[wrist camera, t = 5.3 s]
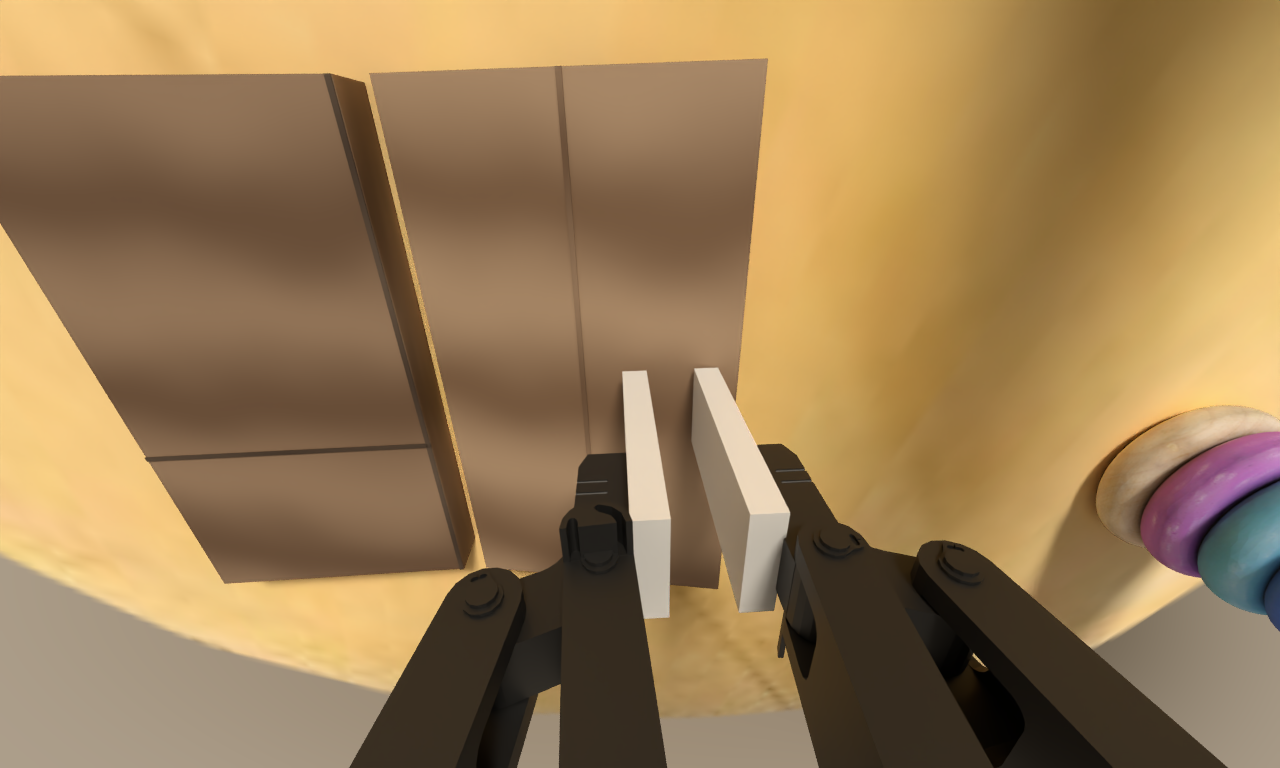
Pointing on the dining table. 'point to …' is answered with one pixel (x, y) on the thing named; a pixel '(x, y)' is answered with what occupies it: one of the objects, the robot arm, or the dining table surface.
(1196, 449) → the stacking toy
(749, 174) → the plank
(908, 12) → the dining table surface
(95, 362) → the panel
